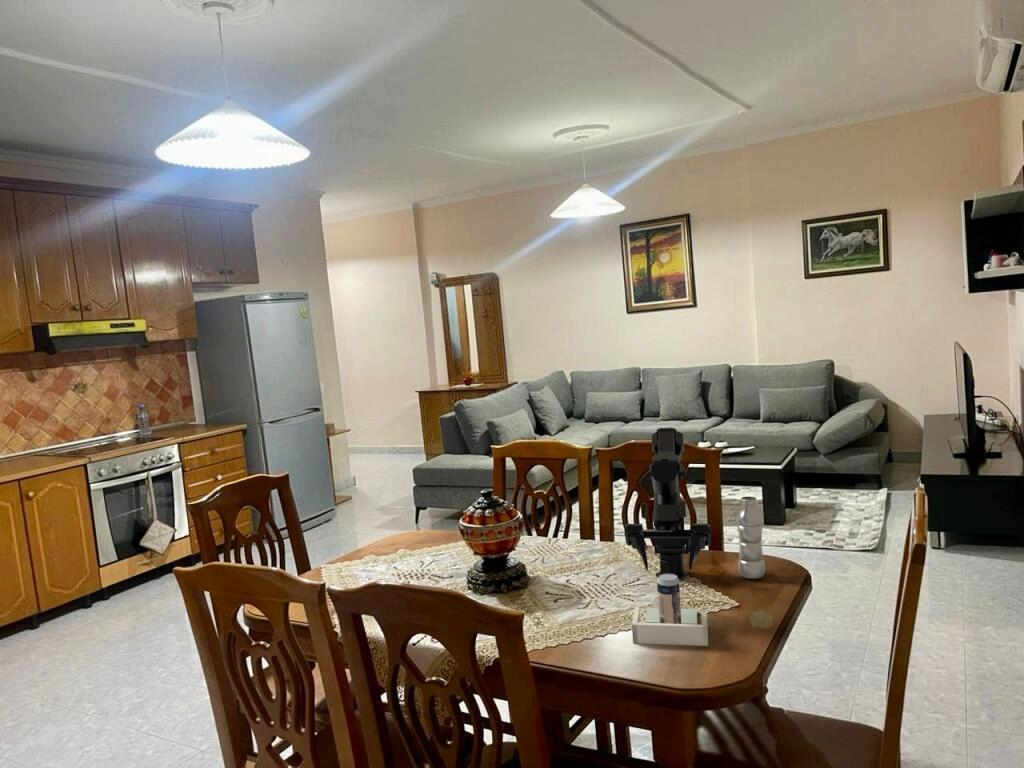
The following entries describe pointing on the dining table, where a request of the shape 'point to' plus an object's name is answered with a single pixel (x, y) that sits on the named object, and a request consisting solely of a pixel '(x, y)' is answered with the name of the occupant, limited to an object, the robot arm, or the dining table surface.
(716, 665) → the dining table surface
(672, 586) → the pill bottle
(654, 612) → the mat
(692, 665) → the dining table surface
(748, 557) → the plastic bottle
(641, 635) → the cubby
